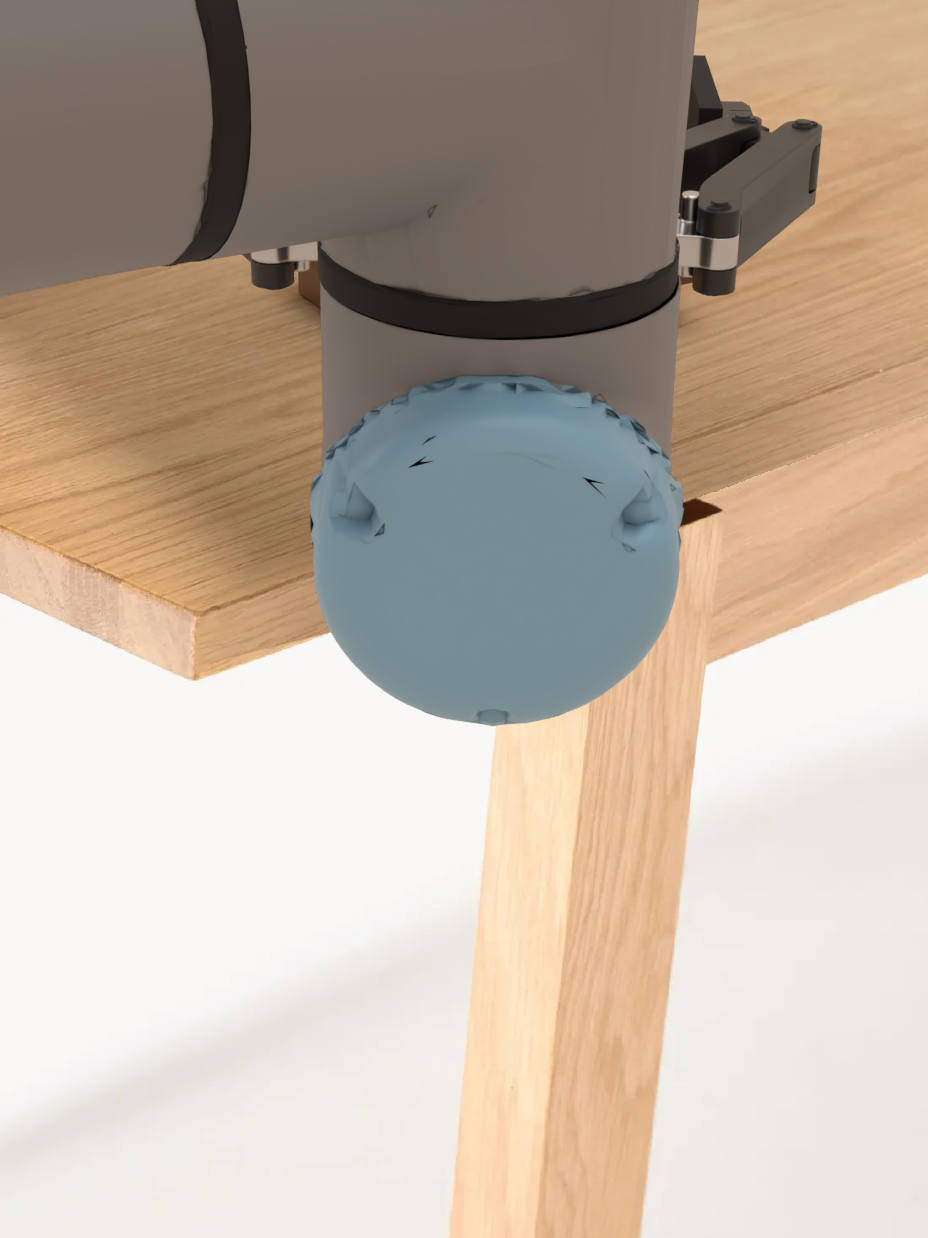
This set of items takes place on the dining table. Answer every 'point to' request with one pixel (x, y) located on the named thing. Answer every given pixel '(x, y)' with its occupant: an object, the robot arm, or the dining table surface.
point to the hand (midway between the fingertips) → (493, 90)
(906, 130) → the dining table surface
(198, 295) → the dining table surface
